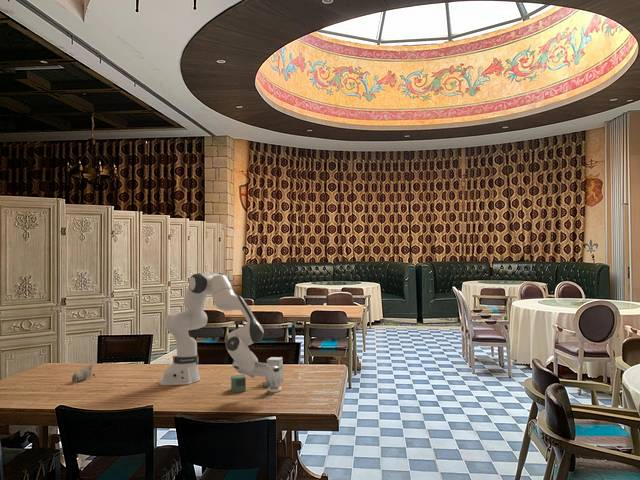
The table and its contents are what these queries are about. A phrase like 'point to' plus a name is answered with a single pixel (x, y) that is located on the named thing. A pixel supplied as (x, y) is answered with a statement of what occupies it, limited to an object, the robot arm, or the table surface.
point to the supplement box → (278, 362)
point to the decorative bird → (82, 374)
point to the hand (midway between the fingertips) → (261, 377)
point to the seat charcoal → (267, 385)
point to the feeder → (238, 383)
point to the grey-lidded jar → (274, 378)
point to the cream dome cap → (275, 389)
